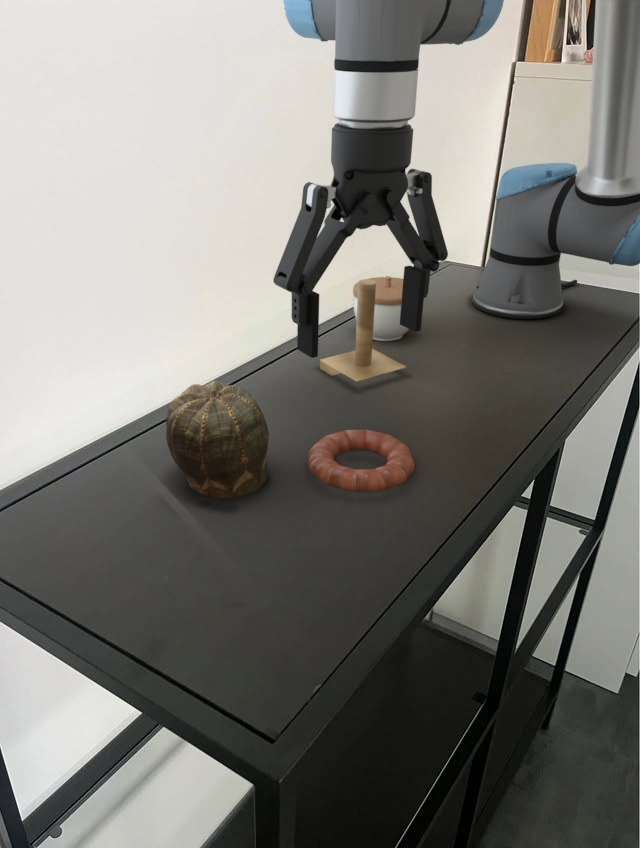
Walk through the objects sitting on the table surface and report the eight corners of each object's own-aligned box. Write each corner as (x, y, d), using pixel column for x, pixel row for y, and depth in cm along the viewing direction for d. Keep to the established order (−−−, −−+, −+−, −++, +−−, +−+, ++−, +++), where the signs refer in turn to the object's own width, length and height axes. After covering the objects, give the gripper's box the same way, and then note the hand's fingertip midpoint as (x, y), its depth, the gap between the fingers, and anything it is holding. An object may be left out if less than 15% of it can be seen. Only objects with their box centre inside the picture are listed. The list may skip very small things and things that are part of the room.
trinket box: (415, 349, 119) (421, 290, 114) (347, 344, 121) (349, 286, 116) (419, 324, 128) (424, 268, 123) (355, 320, 130) (357, 265, 125)
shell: (179, 461, 91) (170, 368, 85) (271, 462, 91) (269, 369, 84) (164, 514, 82) (153, 414, 75) (267, 515, 82) (265, 415, 75)
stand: (368, 355, 117) (373, 267, 110) (406, 376, 111) (414, 284, 103) (319, 368, 113) (321, 278, 106) (356, 391, 107) (360, 297, 100)
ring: (369, 437, 96) (370, 416, 94) (434, 481, 87) (436, 458, 85) (288, 464, 90) (288, 442, 89) (348, 514, 82) (349, 490, 80)
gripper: (447, 109, 79) (426, 308, 90) (234, 127, 68) (241, 352, 79) (500, 116, 73) (471, 328, 85) (278, 138, 62) (279, 378, 74)
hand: (360, 340), depth 82 cm, fingers open, 13 cm apart
